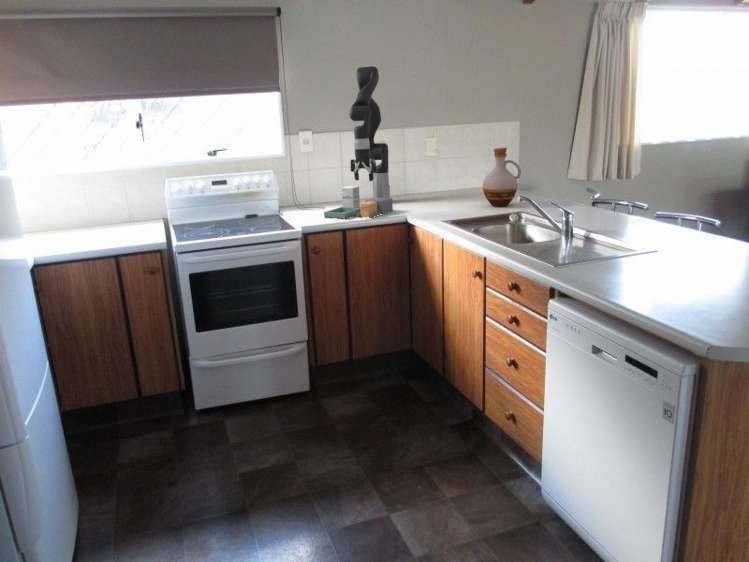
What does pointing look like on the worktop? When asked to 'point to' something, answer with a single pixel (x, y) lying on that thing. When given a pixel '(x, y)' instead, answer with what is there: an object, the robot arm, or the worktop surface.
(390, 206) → the printer bay
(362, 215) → the toner caddy
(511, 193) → the jug
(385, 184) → the robot arm
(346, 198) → the supplement box
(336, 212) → the tray
